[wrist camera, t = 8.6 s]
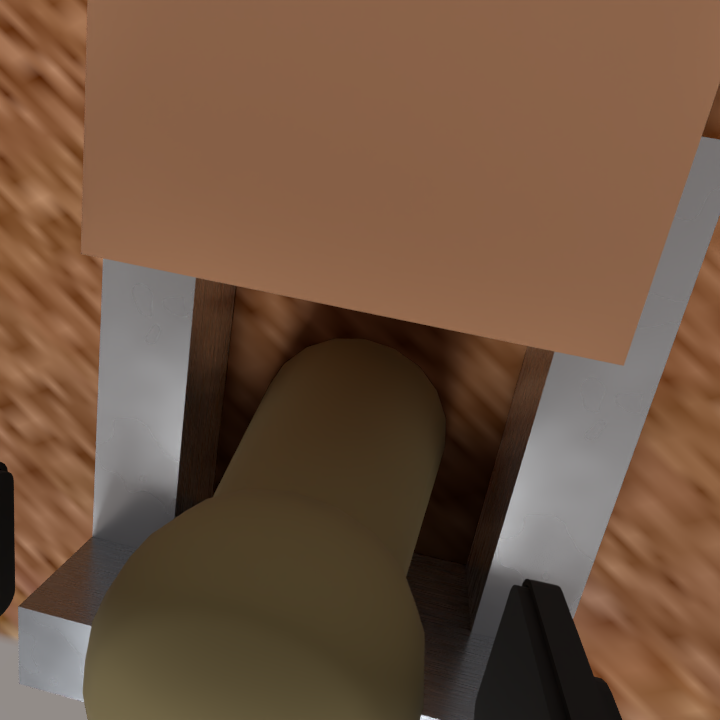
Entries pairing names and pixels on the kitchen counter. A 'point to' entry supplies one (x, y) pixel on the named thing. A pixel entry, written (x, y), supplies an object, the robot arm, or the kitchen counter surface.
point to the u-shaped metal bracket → (425, 574)
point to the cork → (287, 561)
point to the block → (403, 153)
